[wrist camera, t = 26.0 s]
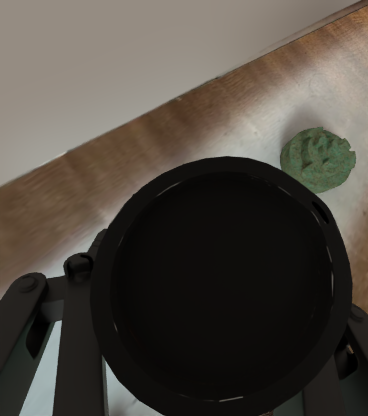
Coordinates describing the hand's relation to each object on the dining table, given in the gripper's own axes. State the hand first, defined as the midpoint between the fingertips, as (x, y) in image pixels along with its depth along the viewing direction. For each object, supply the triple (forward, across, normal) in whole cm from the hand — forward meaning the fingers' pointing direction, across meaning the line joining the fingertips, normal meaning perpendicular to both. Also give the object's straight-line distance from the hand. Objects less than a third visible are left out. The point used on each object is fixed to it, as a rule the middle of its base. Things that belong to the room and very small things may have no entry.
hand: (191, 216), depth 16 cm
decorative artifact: (+20, +20, 0) cm, 28 cm away
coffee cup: (+2, 0, -6) cm, 7 cm away
